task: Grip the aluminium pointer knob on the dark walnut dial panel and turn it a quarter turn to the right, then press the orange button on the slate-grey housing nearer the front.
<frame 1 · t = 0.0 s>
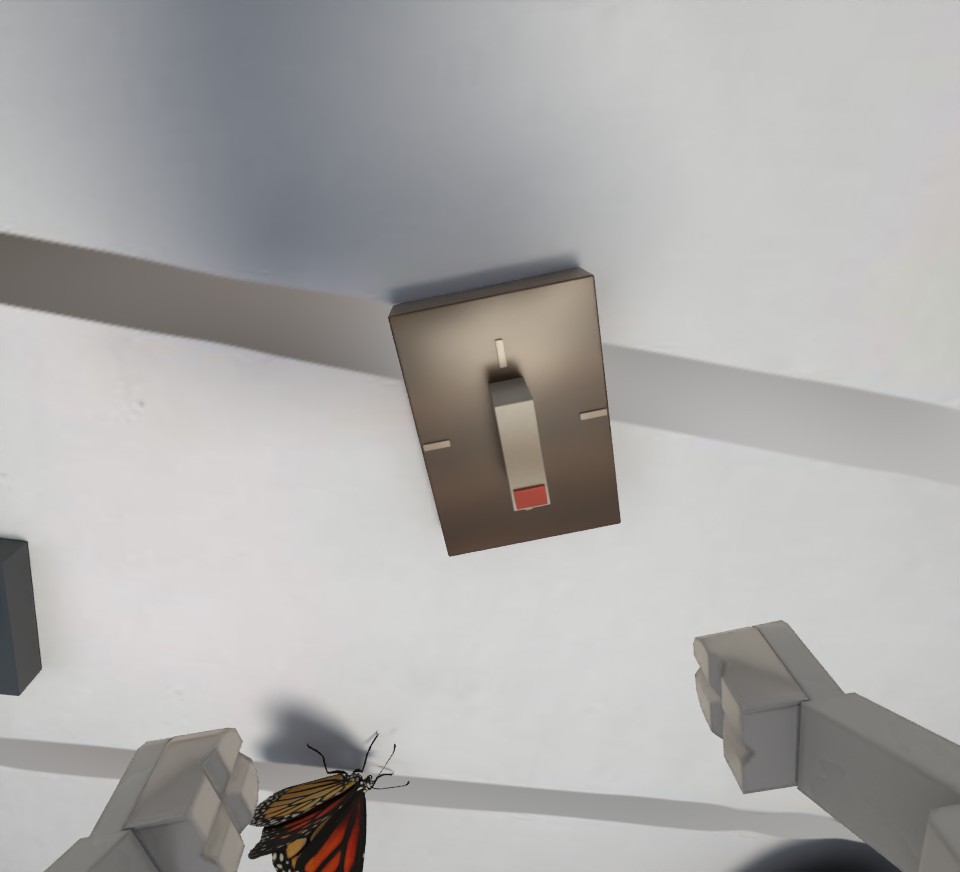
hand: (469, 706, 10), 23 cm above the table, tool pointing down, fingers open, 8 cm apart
dial knob: (519, 443, 28), point 5 cm above the table, hinge at 0.0°
dial panel: (508, 409, 33), on the table
butterfly: (341, 760, 43), on the table
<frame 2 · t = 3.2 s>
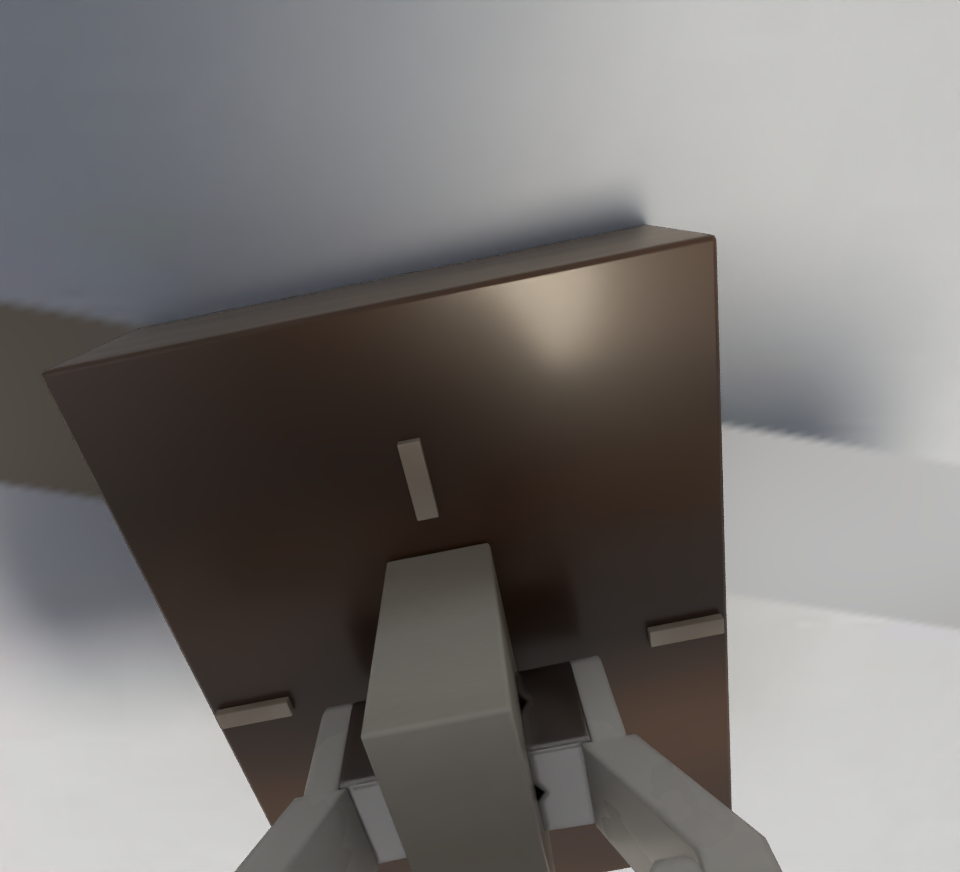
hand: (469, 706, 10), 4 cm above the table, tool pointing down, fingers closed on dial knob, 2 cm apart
dial knob: (473, 759, 9), point 5 cm above the table, hinge at 0.0°, touching gripper
dial panel: (463, 573, 14), on the table
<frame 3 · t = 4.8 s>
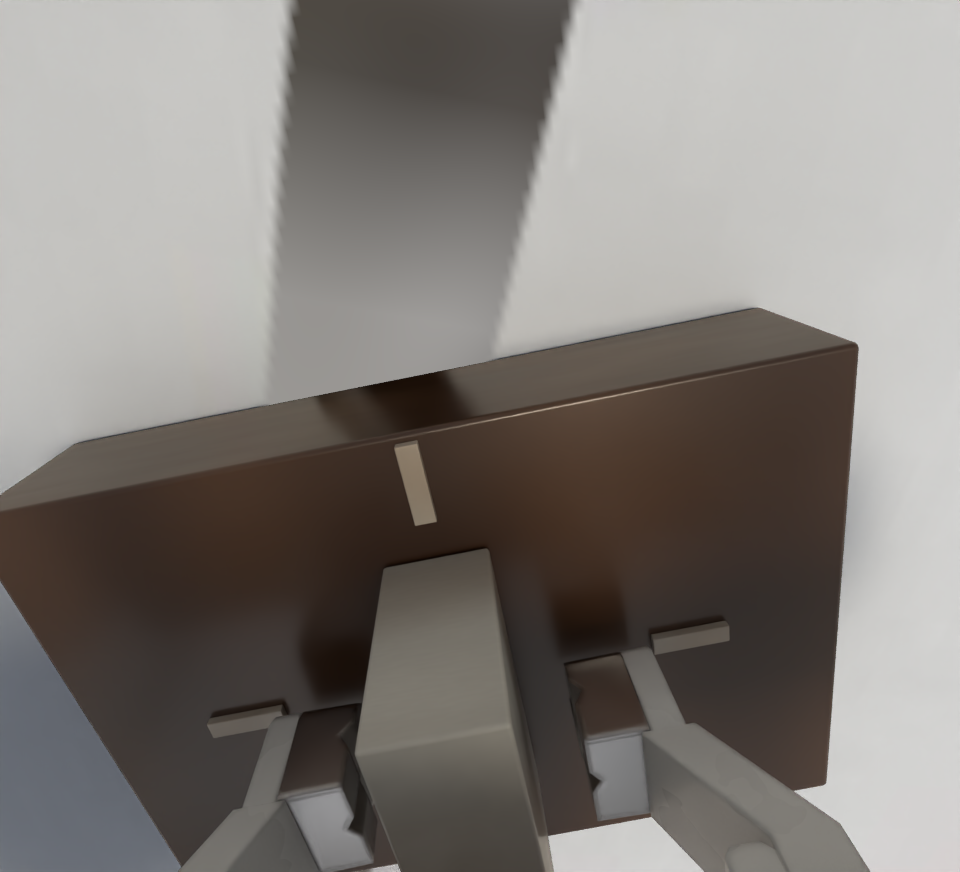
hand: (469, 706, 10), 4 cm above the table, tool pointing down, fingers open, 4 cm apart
dial knob: (472, 771, 9), point 5 cm above the table, hinge at -89.9°
dial panel: (462, 577, 13), on the table
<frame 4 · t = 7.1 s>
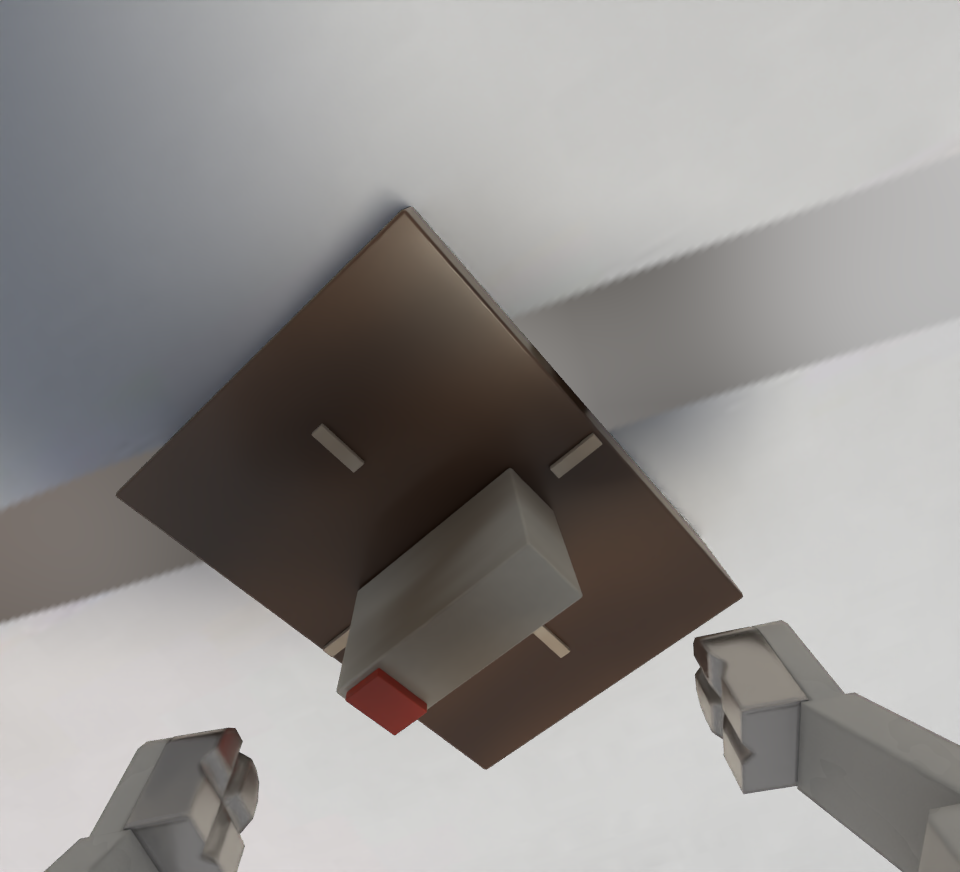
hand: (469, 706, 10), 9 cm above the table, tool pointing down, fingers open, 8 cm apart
dial knob: (455, 596, 14), point 5 cm above the table, hinge at -89.9°
dial panel: (452, 496, 18), on the table
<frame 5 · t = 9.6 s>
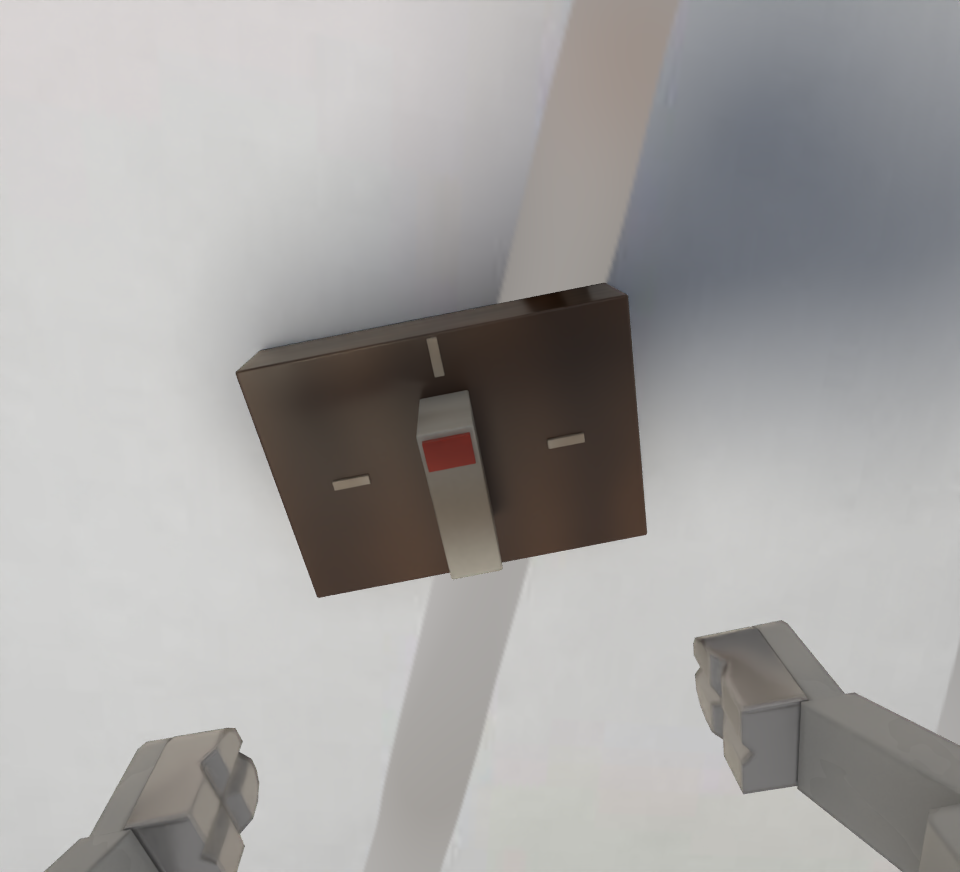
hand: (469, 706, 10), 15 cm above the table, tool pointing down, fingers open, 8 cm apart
dial knob: (460, 483, 20), point 5 cm above the table, hinge at -89.9°
dial panel: (456, 430, 25), on the table
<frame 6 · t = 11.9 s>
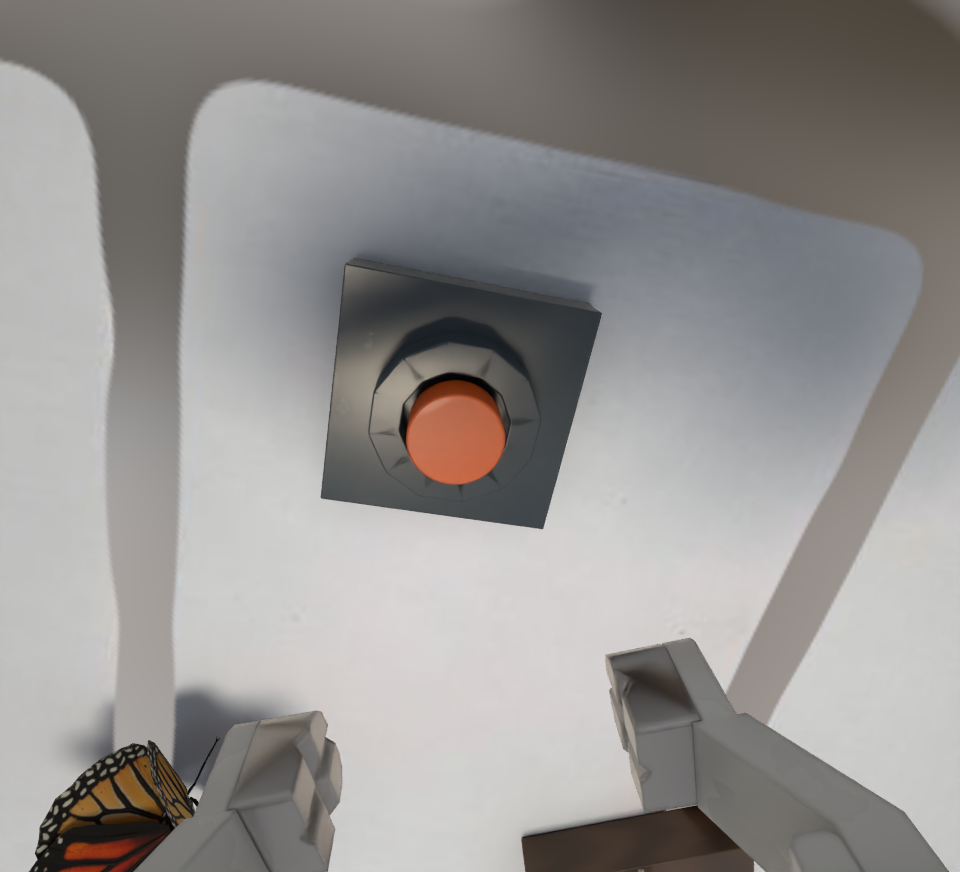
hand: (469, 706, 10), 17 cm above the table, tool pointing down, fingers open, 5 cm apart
dial panel: (632, 864, 40), on the table
button box: (453, 393, 26), on the table
butterfly: (186, 761, 34), on the table
orange button: (455, 432, 22), point 5 cm above the table, slide at 0.2 cm
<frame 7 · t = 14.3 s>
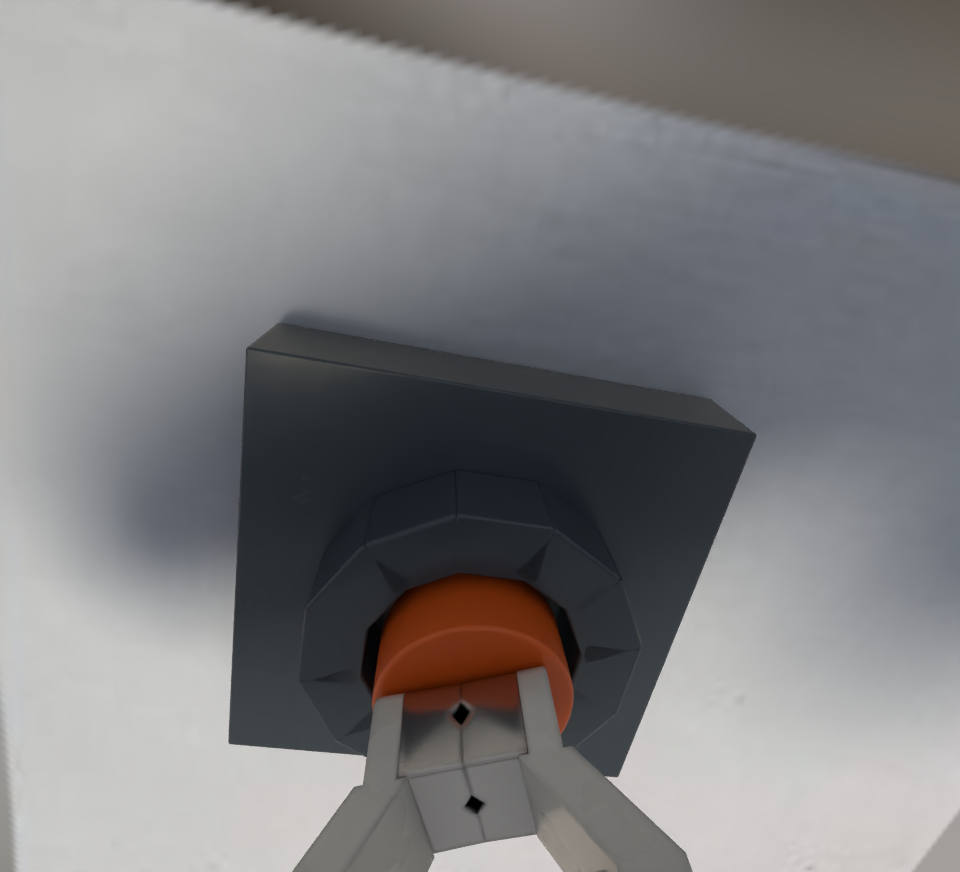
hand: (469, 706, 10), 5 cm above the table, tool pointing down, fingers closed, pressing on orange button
button box: (464, 548, 15), on the table
orange button: (471, 671, 11), point 4 cm above the table, slide at -0.2 cm, touching gripper
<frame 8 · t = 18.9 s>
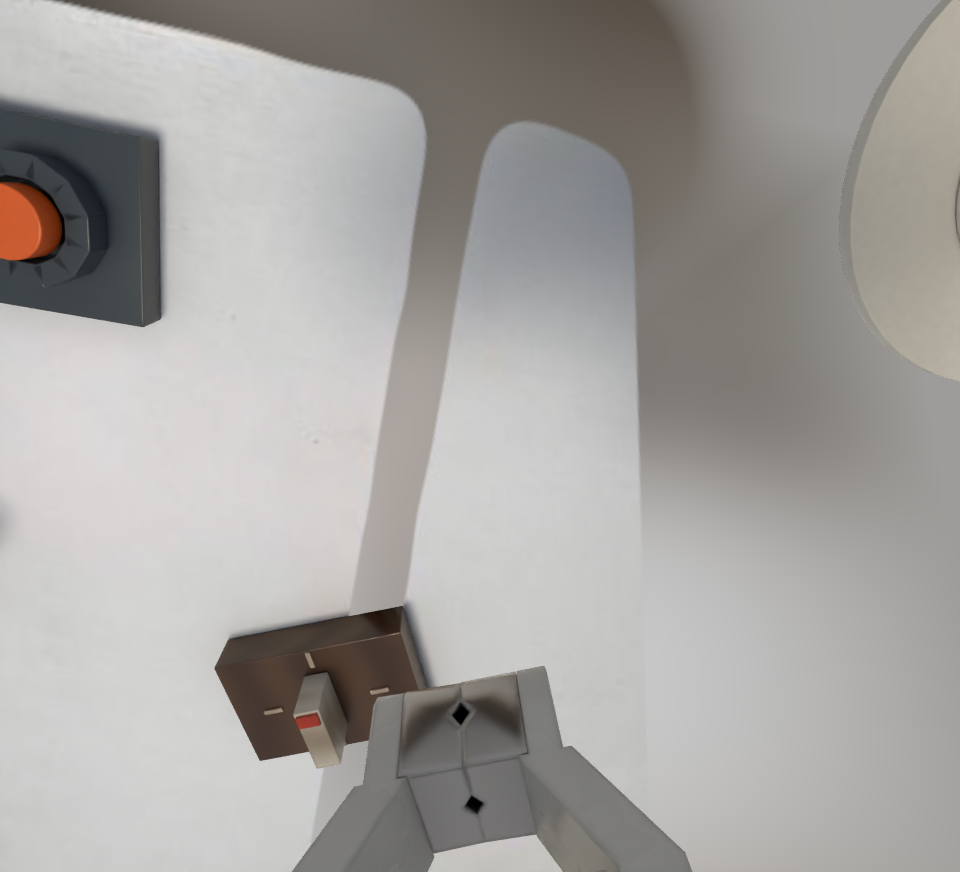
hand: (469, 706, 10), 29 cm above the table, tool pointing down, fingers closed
dial knob: (321, 721, 42), point 5 cm above the table, hinge at -89.9°
dial panel: (333, 670, 47), on the table
button box: (67, 217, 33), on the table
orange button: (13, 221, 29), point 5 cm above the table, slide at 0.1 cm
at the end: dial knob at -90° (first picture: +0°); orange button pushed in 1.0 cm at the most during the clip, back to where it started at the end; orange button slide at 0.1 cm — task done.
